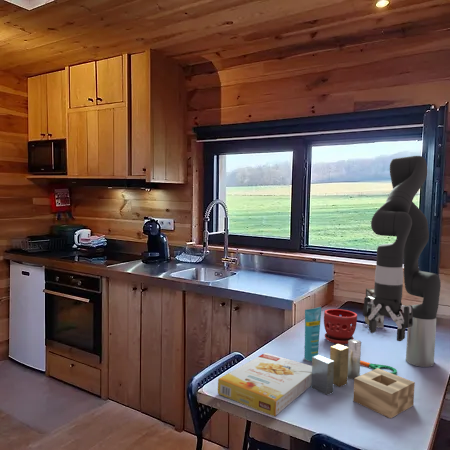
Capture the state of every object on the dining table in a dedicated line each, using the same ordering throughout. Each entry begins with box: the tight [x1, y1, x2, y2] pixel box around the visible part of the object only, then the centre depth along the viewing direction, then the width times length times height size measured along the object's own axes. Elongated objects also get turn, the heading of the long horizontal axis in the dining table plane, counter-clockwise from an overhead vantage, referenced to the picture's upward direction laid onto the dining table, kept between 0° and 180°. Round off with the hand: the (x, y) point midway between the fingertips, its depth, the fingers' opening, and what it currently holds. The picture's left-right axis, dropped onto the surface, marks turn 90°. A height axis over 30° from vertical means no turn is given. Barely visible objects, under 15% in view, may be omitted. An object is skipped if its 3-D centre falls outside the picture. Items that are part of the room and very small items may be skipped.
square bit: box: [329, 344, 349, 388], centre depth 137 cm, size 4×4×12 cm
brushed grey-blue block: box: [310, 354, 334, 396], centre depth 132 cm, size 3×6×10 cm, turn 38°
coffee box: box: [364, 288, 385, 329], centre depth 197 cm, size 9×6×16 cm
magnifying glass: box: [360, 359, 398, 375], centre depth 150 cm, size 15×6×2 cm, turn 51°
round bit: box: [347, 339, 362, 380], centre depth 142 cm, size 4×4×12 cm
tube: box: [304, 306, 322, 362], centre depth 156 cm, size 7×5×19 cm, turn 123°
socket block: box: [352, 368, 416, 419], centre depth 125 cm, size 12×12×7 cm
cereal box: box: [217, 352, 312, 417], centre depth 134 cm, size 20×6×28 cm
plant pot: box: [323, 308, 358, 345], centre depth 176 cm, size 13×13×12 cm
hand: (386, 336), depth 123 cm, fingers open, 8 cm apart
